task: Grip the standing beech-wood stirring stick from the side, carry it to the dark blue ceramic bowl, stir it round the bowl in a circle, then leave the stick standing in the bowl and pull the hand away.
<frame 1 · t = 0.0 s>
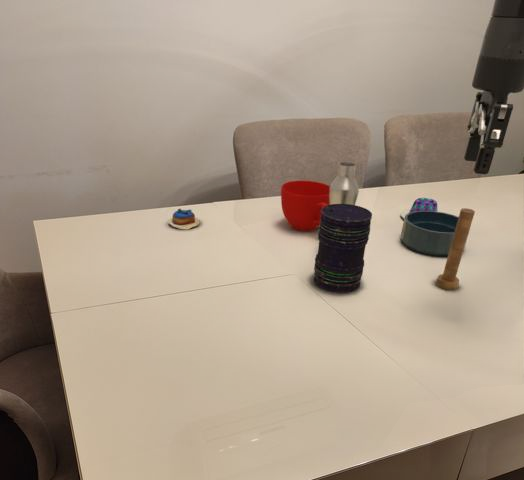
hand: (475, 166, 84), 26 cm above the table, tool pointing down, fingers open, 8 cm apart
purple patterned hat: (421, 220, 138), on the table
stirring stick: (446, 285, 105), on the table
bowl: (431, 244, 123), on the table
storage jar: (336, 283, 104), on the table
silver bottle: (335, 253, 116), on the table
ceramic cup: (307, 230, 128), on the table
dessert: (184, 224, 127), on the table
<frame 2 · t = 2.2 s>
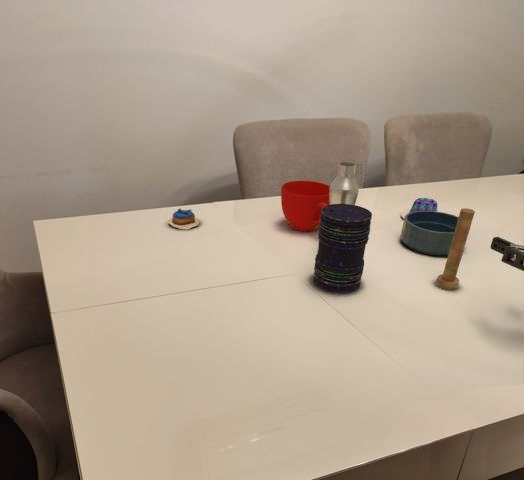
hand: (509, 239, 89), 14 cm above the table, tool horizontal, fingers open, 8 cm apart
nothing on the table moved.
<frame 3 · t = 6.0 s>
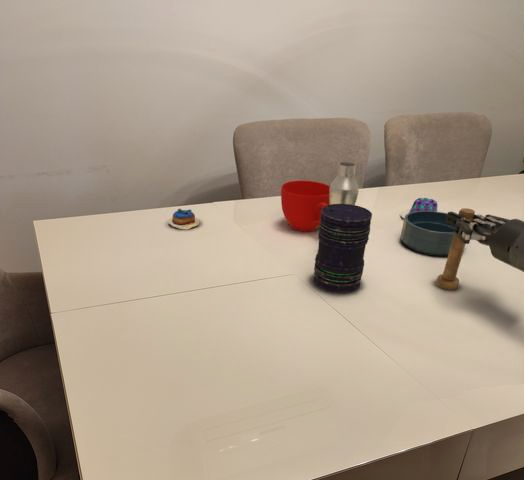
hand: (453, 215, 99), 14 cm above the table, tool horizontal, fingers closed on stirring stick, 2 cm apart
stirring stick: (446, 285, 105), on the table, touching gripper
everything else where it was.
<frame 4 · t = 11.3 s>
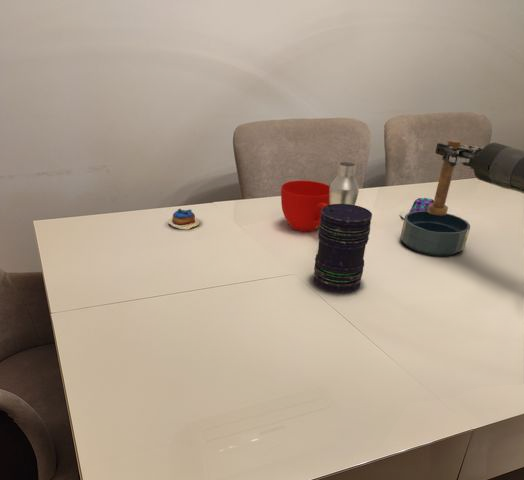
hand: (442, 147, 113), 22 cm above the table, tool horizontal, fingers closed on stirring stick, 2 cm apart
stirring stick: (436, 212, 119), point 8 cm above the table, touching gripper
everything else where it was.
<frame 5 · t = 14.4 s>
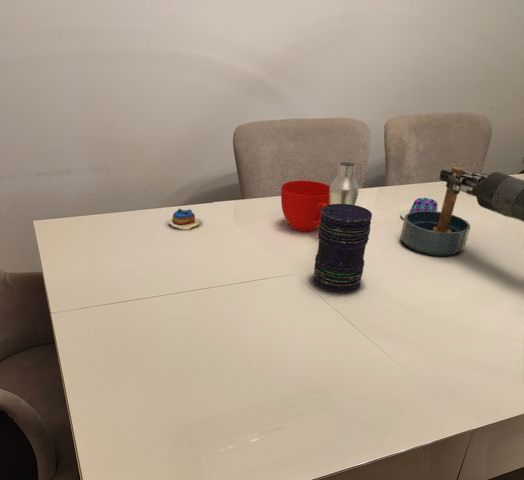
hand: (446, 173, 116), 16 cm above the table, tool horizontal, fingers closed on stirring stick, 2 cm apart
stirring stick: (440, 235, 122), point 2 cm above the table, touching gripper
everything else where it was.
when the fingers open (15 cm above the table, at t = 16.8 s): stirring stick stays where it is, resting on bowl.
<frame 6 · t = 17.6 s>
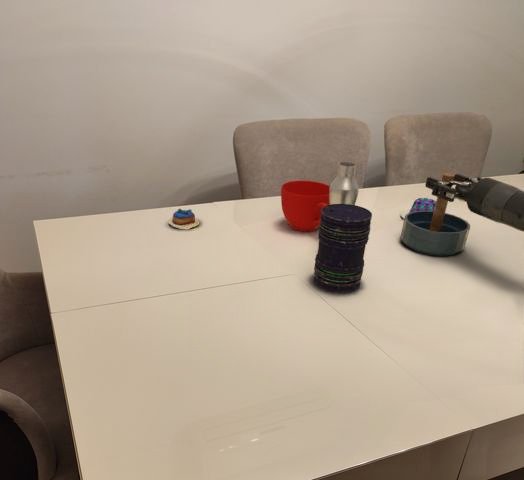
hand: (441, 179, 116), 15 cm above the table, tool horizontal, fingers open, 8 cm apart
stirring stick: (432, 241, 123), point 1 cm above the table, touching bowl
everything else where it was.
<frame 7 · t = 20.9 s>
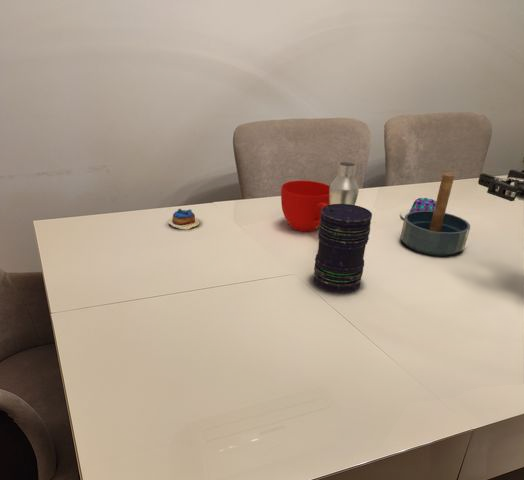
hand: (494, 176, 104), 20 cm above the table, tool horizontal, fingers open, 8 cm apart
nothing on the table moved.
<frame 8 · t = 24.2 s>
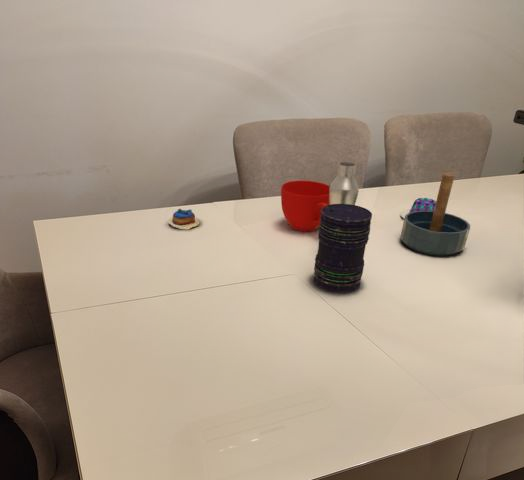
nothing on the table moved.
at the end: stirring stick inside the target area in the bowl (0.1 cm from its centre), point 1.0 cm above the bowl's base; stirring stick moved 21.9 cm from its start; the gripper is holding nothing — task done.
